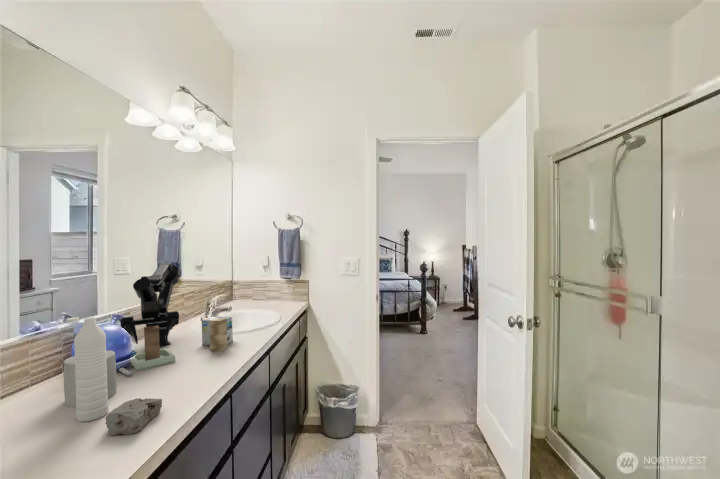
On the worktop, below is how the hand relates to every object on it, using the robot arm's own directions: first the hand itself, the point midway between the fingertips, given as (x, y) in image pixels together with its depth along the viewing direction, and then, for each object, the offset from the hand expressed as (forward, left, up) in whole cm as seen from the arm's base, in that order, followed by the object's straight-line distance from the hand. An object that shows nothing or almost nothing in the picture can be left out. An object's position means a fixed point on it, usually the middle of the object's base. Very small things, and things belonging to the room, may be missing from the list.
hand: (152, 340), depth 130 cm
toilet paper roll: (+19, -20, -8) cm, 28 cm away
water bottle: (+32, -22, -8) cm, 39 cm away
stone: (+44, -14, -8) cm, 47 cm away
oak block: (+2, +23, -8) cm, 25 cm away
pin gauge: (+5, -9, -8) cm, 13 cm away
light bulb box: (-7, +26, -8) cm, 28 cm away
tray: (-1, 0, -8) cm, 8 cm away
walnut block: (-1, 0, -7) cm, 8 cm away
